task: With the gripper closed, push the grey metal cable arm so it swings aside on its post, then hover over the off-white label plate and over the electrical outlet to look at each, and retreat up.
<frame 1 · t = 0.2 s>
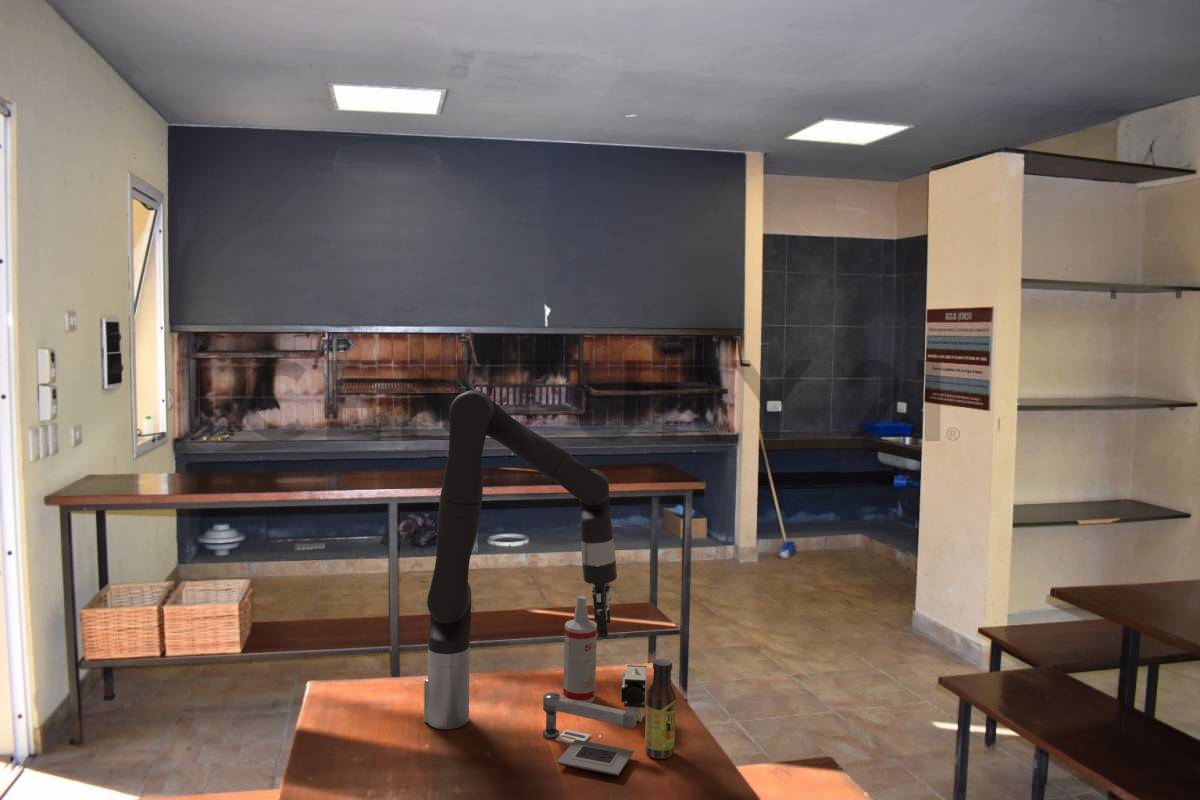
hand: (604, 629, 202), 22 cm above the table, tool pointing down, fingers open, 8 cm apart
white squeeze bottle: (579, 698, 217), on the table
cable arm: (588, 710, 193), point 7 cm above the table, hinge at 0.0°
pneumatic valve: (632, 719, 206), on the table
arm post: (550, 735, 197), on the table
label plate: (573, 738, 196), on the table
electrical outlet: (595, 766, 185), on the table
sauce bottle: (659, 754, 190), on the table
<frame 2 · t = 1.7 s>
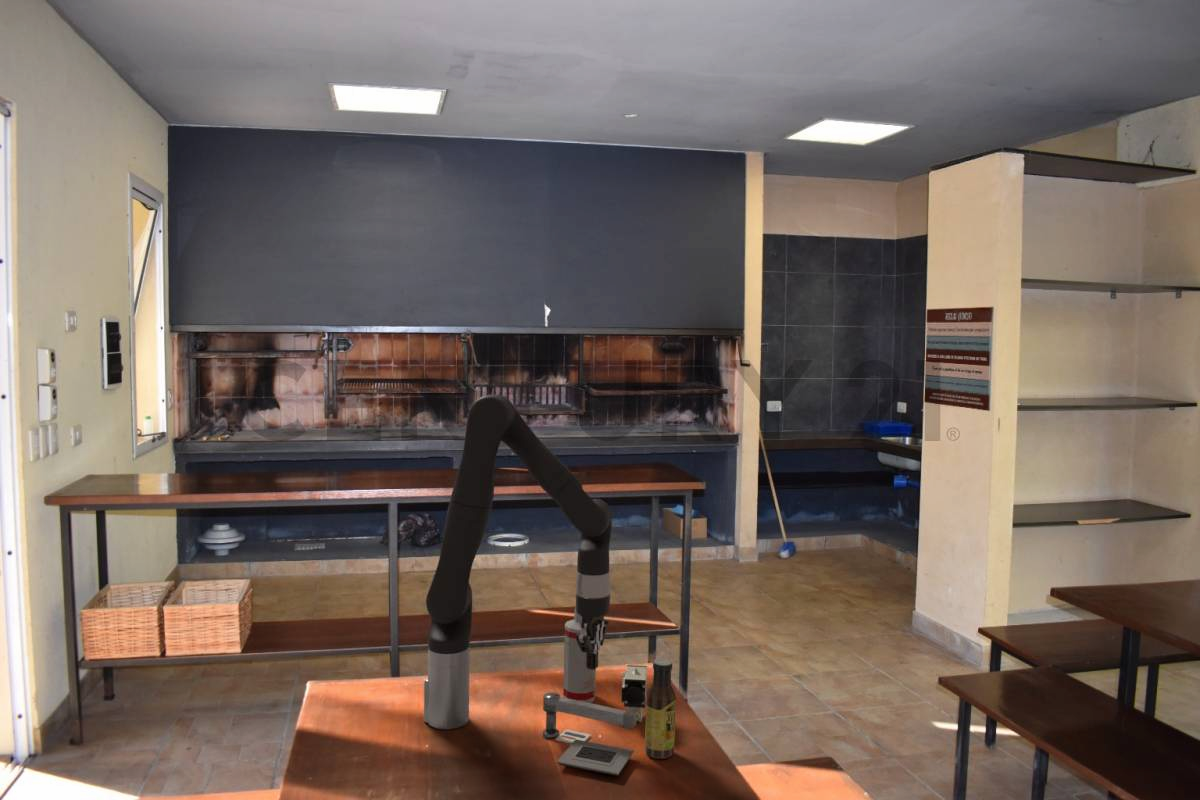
hand: (592, 668, 198), 15 cm above the table, tool pointing down, fingers closed
nothing on the table moved.
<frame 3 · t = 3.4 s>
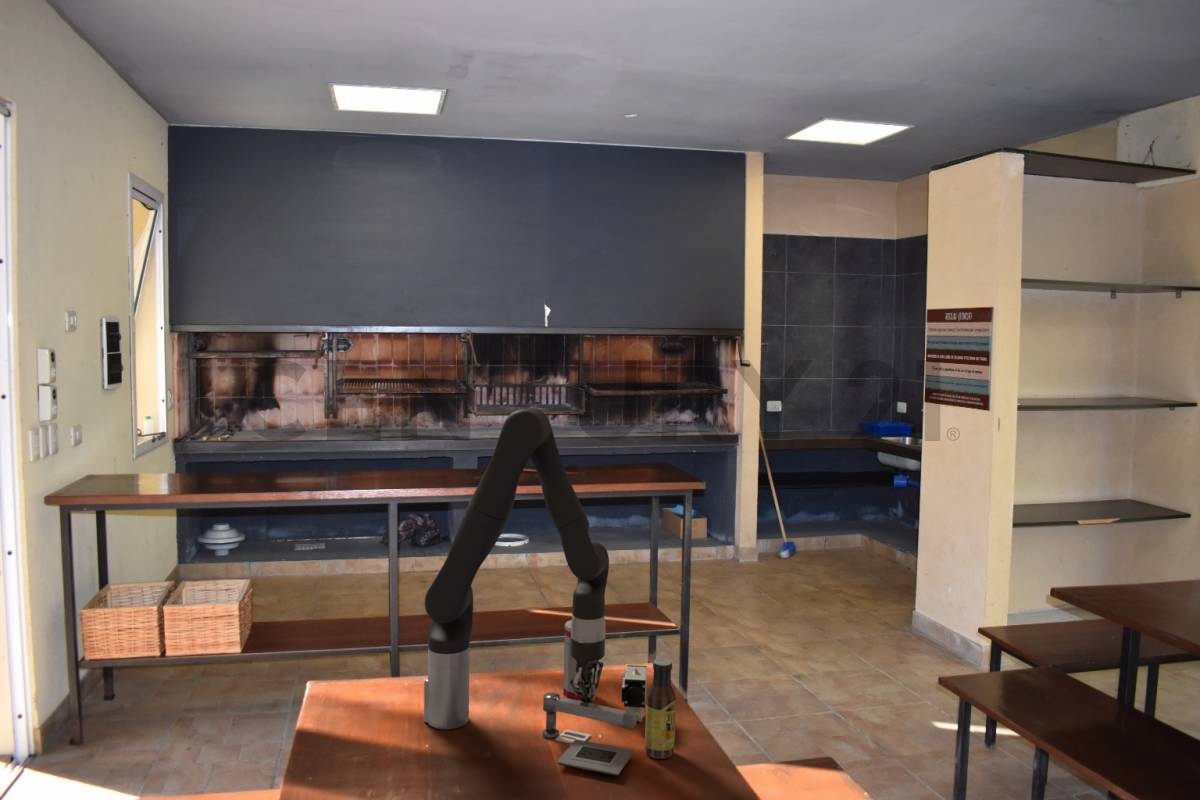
hand: (586, 711, 197), 5 cm above the table, tool pointing down, fingers closed
cable arm: (588, 710, 193), point 7 cm above the table, hinge at 0.1°, touching gripper
everything else where it was.
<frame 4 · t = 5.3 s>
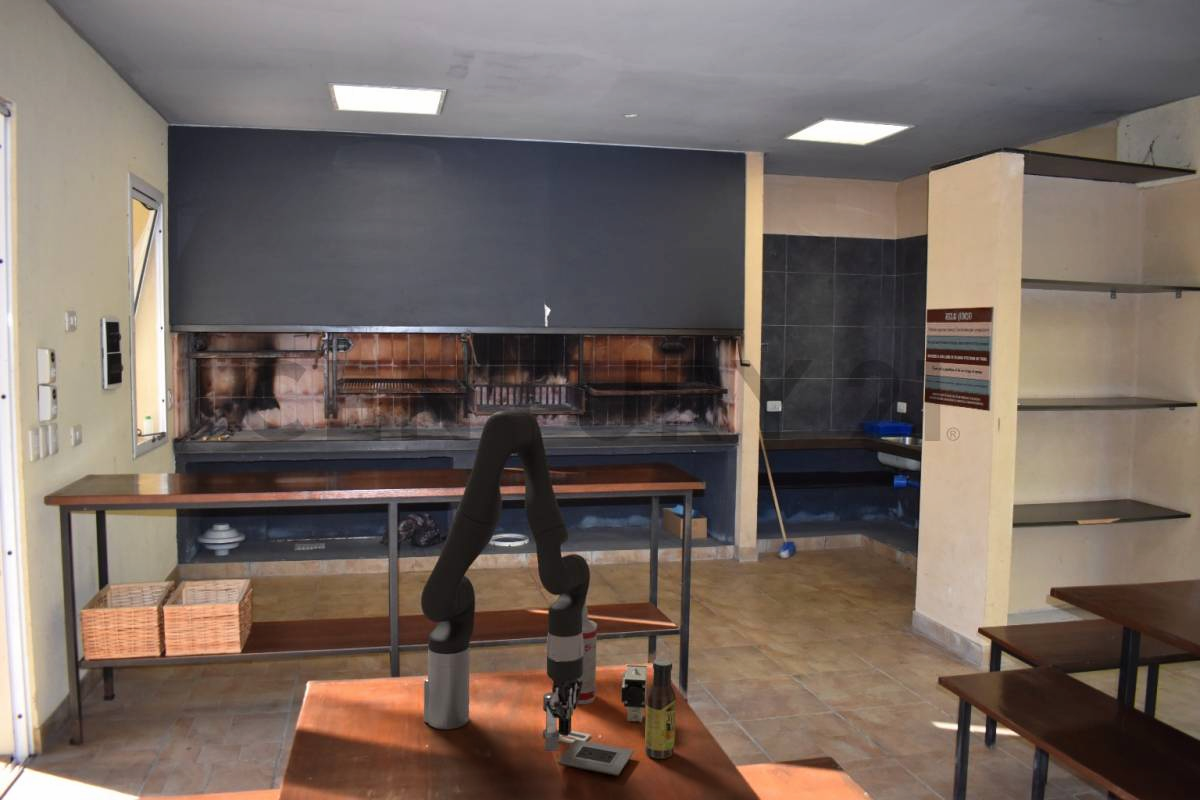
hand: (564, 733, 185), 6 cm above the table, tool pointing down, fingers closed
cable arm: (551, 720, 187), point 7 cm above the table, hinge at 62.7°, touching gripper
everything else where it was.
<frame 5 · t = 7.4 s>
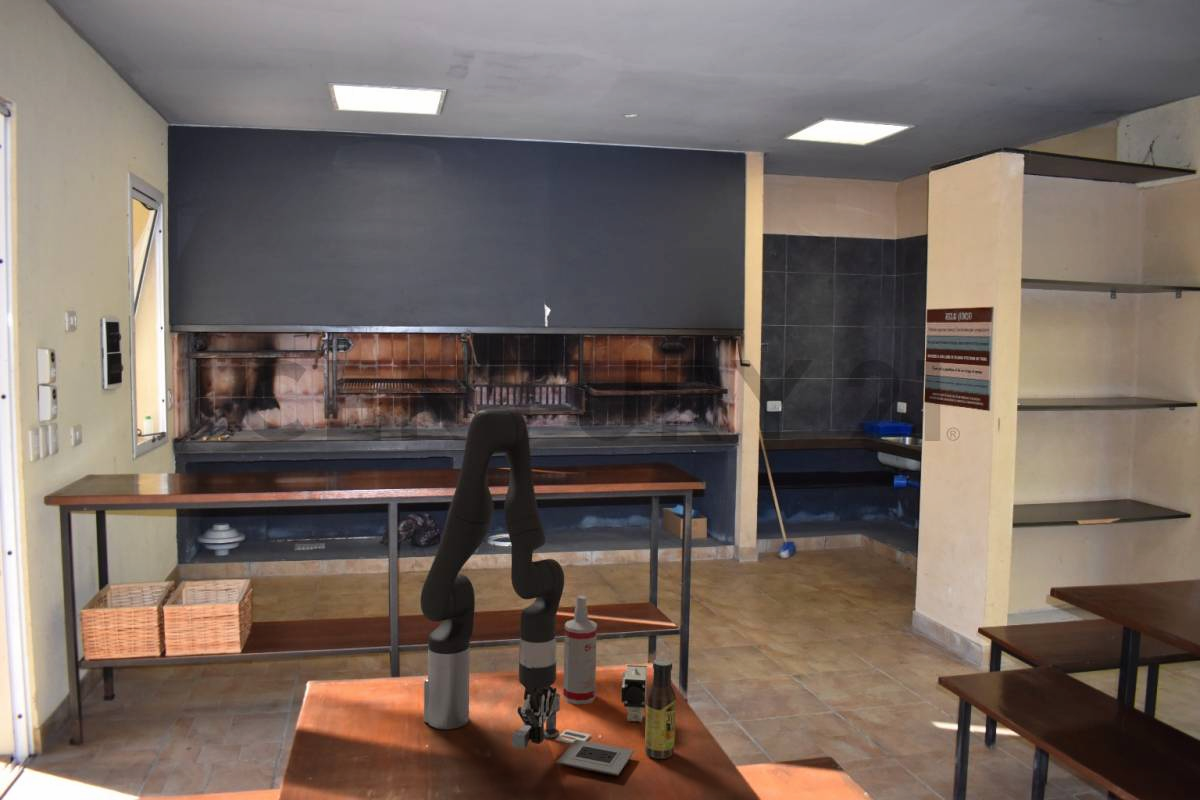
hand: (537, 741, 182), 6 cm above the table, tool pointing down, fingers closed
cable arm: (537, 719, 188), point 7 cm above the table, hinge at 82.6°, touching gripper
everything else where it was.
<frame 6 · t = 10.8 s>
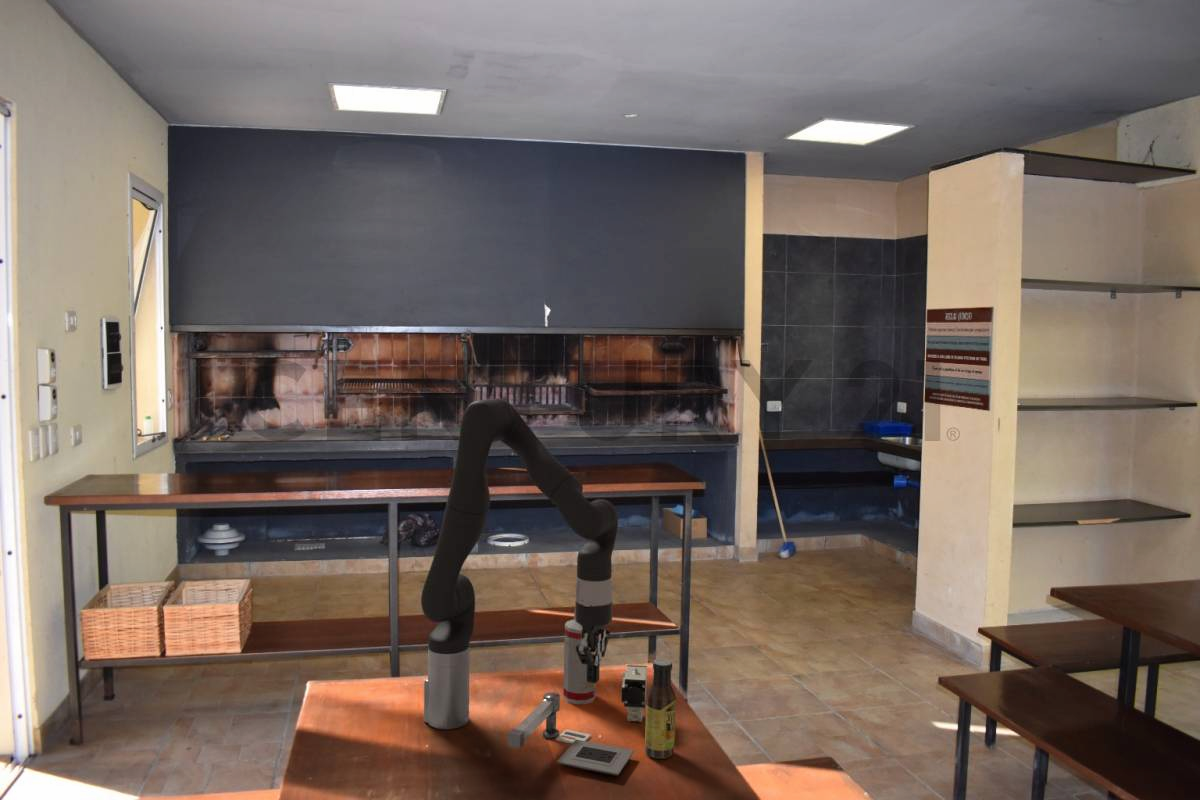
hand: (592, 681, 184), 17 cm above the table, tool pointing down, fingers closed
cable arm: (535, 718, 188), point 7 cm above the table, hinge at 85.4°
everything else where it was.
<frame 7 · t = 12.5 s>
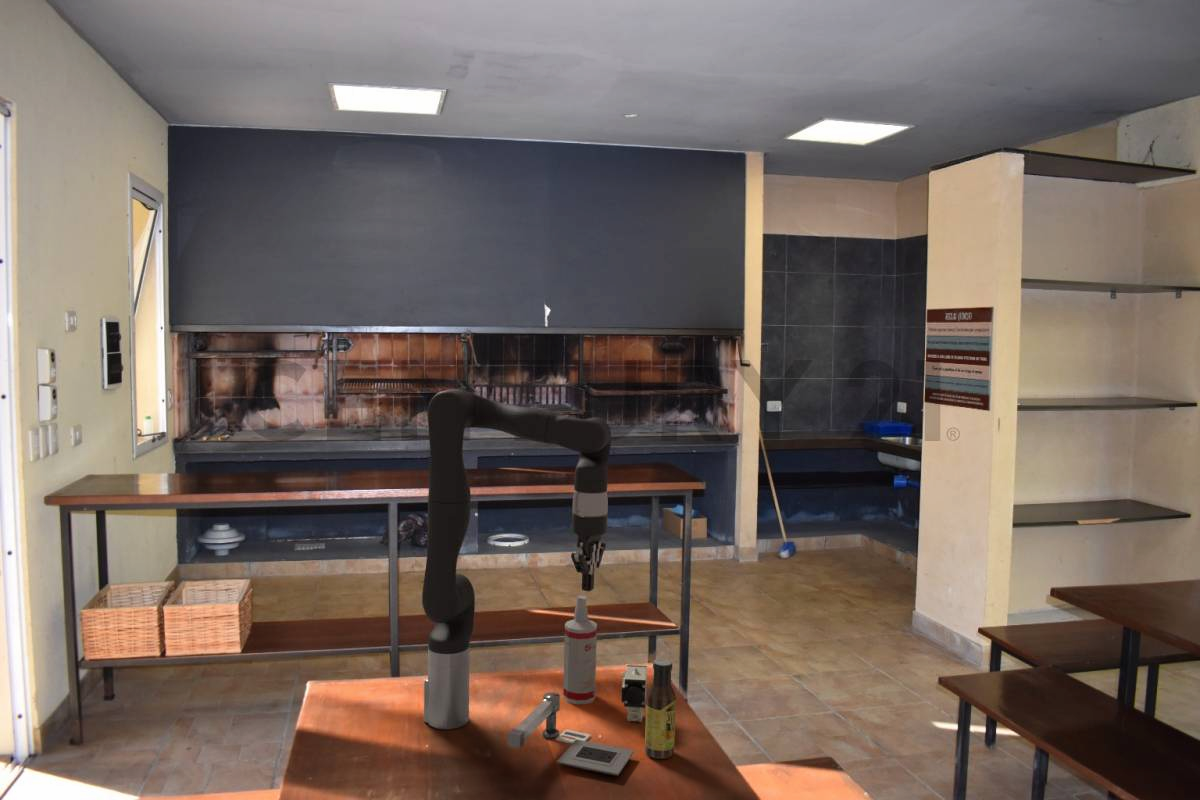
hand: (587, 590, 194), 33 cm above the table, tool pointing down, fingers closed
nothing on the table moved.
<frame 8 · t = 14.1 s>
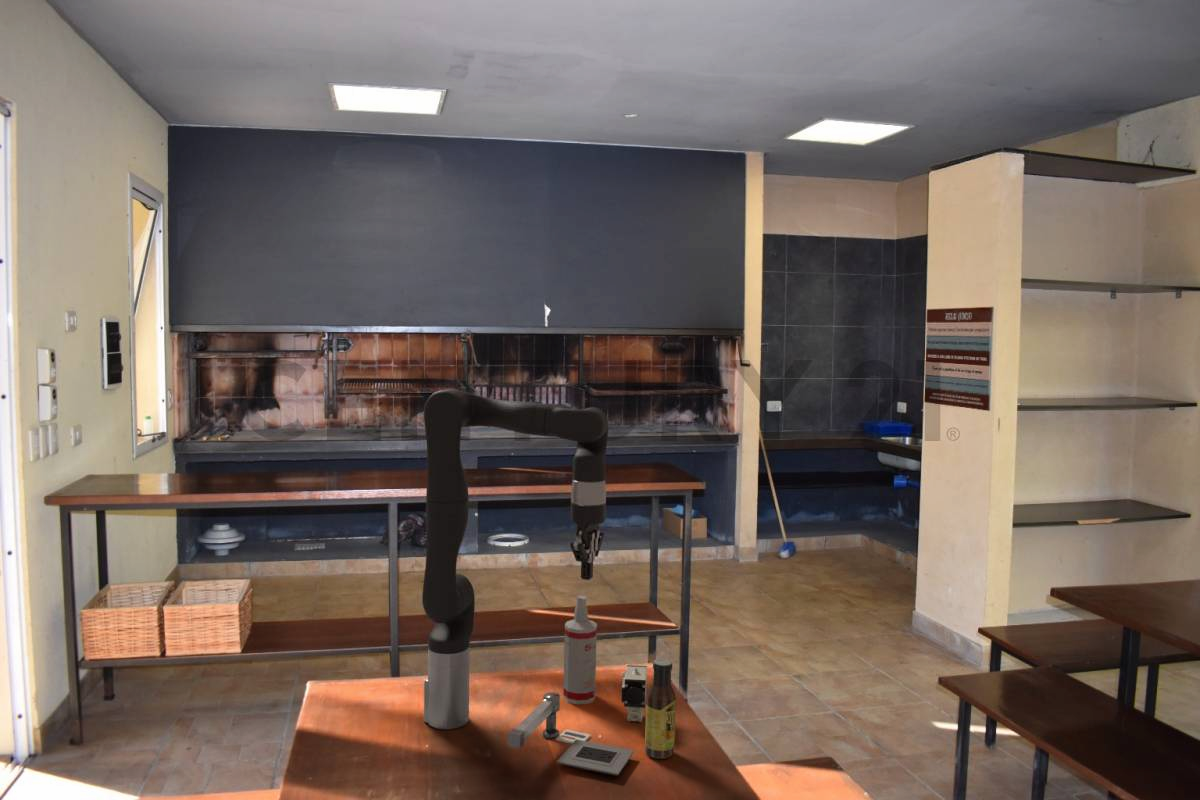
hand: (586, 578, 195), 35 cm above the table, tool pointing down, fingers closed
nothing on the table moved.
at the end: cable arm at +85° (first picture: +0°); electrical outlet moved 0.6 cm from its start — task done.
